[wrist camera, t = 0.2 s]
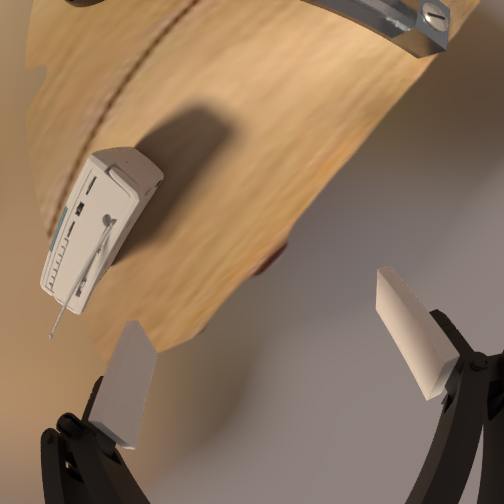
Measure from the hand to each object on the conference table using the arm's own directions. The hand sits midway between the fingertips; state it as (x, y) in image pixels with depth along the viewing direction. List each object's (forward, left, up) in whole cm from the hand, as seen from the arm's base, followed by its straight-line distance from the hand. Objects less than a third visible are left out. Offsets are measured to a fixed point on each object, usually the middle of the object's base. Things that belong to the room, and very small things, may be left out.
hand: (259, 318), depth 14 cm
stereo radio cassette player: (-3, -20, -27) cm, 34 cm away
